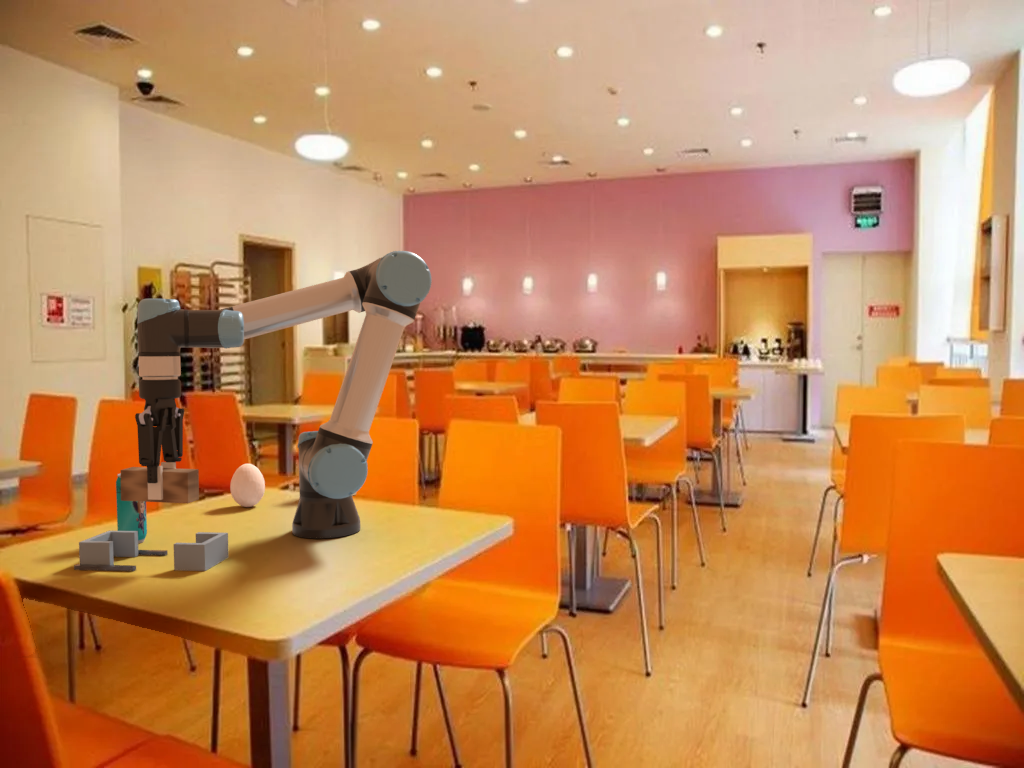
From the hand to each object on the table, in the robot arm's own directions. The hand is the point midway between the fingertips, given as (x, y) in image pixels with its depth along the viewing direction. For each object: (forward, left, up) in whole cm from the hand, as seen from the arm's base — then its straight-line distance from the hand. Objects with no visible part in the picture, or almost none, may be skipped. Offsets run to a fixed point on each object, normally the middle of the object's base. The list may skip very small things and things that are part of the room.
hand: (162, 496), depth 158 cm
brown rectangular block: (+1, 0, -1) cm, 1 cm away
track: (+8, +1, -13) cm, 16 cm away
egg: (+6, -52, -13) cm, 54 cm away
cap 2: (-8, +1, -13) cm, 15 cm away
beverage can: (+15, -14, -13) cm, 25 cm away
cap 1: (+10, +1, -13) cm, 17 cm away
